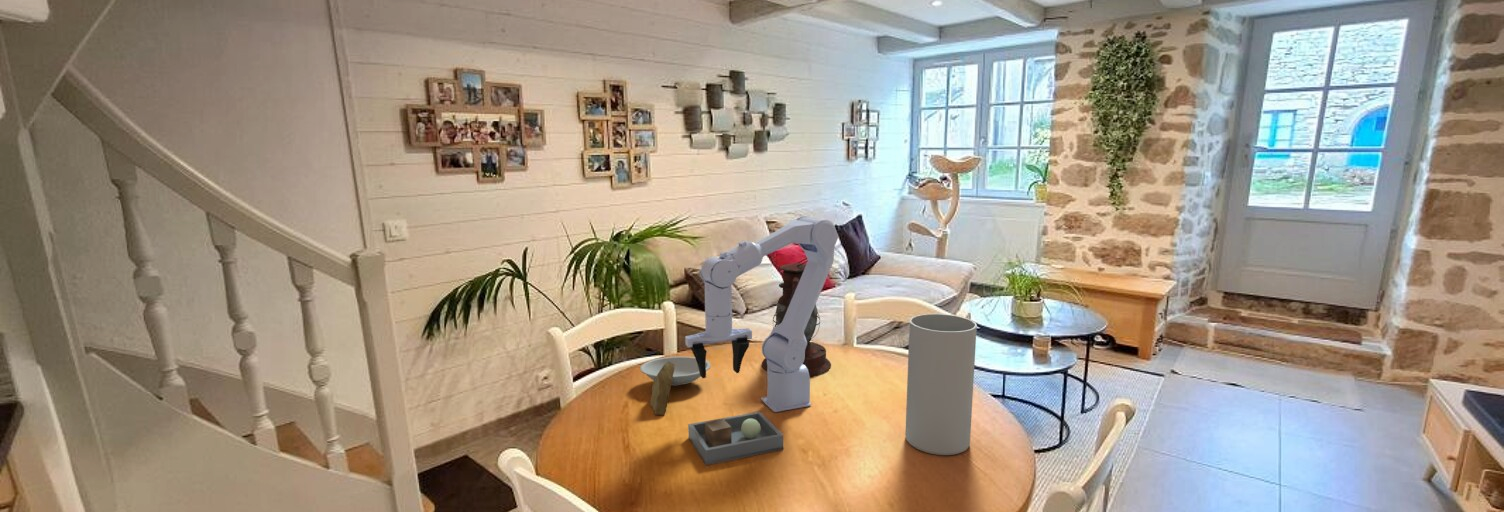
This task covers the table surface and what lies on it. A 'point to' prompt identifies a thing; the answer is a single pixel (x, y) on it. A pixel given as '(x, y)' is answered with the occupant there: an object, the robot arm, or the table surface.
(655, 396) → the rock
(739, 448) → the serving tray
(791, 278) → the lantern
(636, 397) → the table surface
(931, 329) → the cylinder vase
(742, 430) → the green ball
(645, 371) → the dish
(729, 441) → the walnut cube
